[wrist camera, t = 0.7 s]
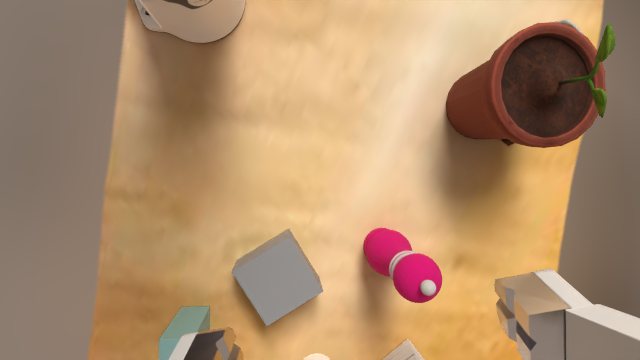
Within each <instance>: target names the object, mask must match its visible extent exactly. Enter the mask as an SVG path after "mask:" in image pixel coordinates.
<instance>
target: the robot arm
mask: <svg viewBox="0 0 640 360" xmlns="http://www.w3.org/2000/svg"><path fill="white" fill-rule="evenodd" d="M134 1H135V3H136V6H137V8H138V11H139V14H140V16H141V19H142V21H143V23H144V25H145V26H146V27H147V28H148V29H150V30H153V31H160V32H168V33H171V34H173V35H175V36H177V37H179V38H181V39H183V40H186V41H190V42H196V43H207V42H212V41H216V40H218V39H221V38H223V37H224V36H226V35H227V34H229V33H230V32H231V31H232V30H233V29H234V28H235V27H236V26H237V24H238V23H239V21H240V19H241V17H242V15H243V12H244V8H245V0H134ZM147 12H148V13H149V14H150V15H147ZM494 285H495V292H496V293H497V295H498V296H499V297H500V299H499V300H498V302H497V303H496V307H497V314H498V317H499V320H500V323H501V325H502V327H503V329H504V331H505V333H506V334H507V336H508V337H509V338H510V339H512V340H514V341H516V342H517V350H518V352H519V353H520V355H521V356H522V358H523V359H524V360H640V319H639V318H637V317H634V316H631V315H628V314H625V313H623V312H620V311H617V310H614V309H611V308H609V307H606V306H603V305H600V304H597V305H593V304H592V303H590V302H589V301H588V300H587V299H586V298H585V297H584V296H582V295H581V294H580V293H579V292H578V291H577V290H575V289H574V288H573V287H572V286H571V285H570V284H568V283H567V282H566V281H565V280H564V279H563V278H562V277H560V276H559V275H558V274H557V273H556V272H555V271H554V270H551V269H545V270H540V271H535V272H531V273H527V274H522V275H516V276H511V277H506V278H500V279H495V284H494ZM235 338H236V336H235V334H234V331H233V329H232V328H230V327H226V328H220V329H213V330H207V331H200V332H195V333H189V334H185V335H183V336H182V337H181V338H180V340H179V342H178V344H177V346H176V347H175V349H174V351H173V353H172V354H171V356H170V358H169V360H244V359H243V354H242V351H241V349H240V347H238V346H237V345H235V344H234V341H235Z"/></svg>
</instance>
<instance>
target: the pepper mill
mask: <svg viewBox="0 0 640 360" xmlns="http://www.w3.org/2000/svg"><path fill="white" fill-rule="evenodd" d="M364 252H365V254H366V256H367V260H368V262H369V264H370V265H371V267H372V268H373V269H374V270H376V271H377V272H378V273H380V274H382V275H385V276H391V278H392V280H393V282H394V286H395V288H396V290H397V291H398V292H399V294H400V295H401V296H402V297H404V298H405V299H407V300H409V301H411V302H415V303H424V302H427V301H429V300H431V299H433V298H434V297H435V296H436V295H437V294H438V292H439V291H440V288H441V285H442V275H441V271H440V269H439V267H438V265H437V264H436V263H435V262H434V261H433V260H432V259H431V258H429V257H428V256H425V255H423V254H419V253H415V252H413V251H412V248H411V245H410V243H409V241H408V240H407V239H406V238H405V237H404V236H403V235H402V234H401V233H399V232H397V231H394V230H389V229H386V228H378V229H375V230H373V231H371V232H370V233H369V234H368V235H367V237H366V238H365V241H364Z"/></svg>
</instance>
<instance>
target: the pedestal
mask: <svg viewBox="0 0 640 360" xmlns="http://www.w3.org/2000/svg"><path fill="white" fill-rule="evenodd" d="M232 273H233V275H234V277H235V278H236V280H237V281H238V283H239V284H240V286H241V287H242V289H243V290H244V292H245V294H246V295H247V297H248V298H249V300H250V301H251V303H252V304H253V306H254V307H255V309H256V310H257V312H258V314H259V315H260V317H261V318H262V320H263V321H264V323H265V324H266V326H268V325H270V324H272V323H273V322H275V321H276V320H278V319H280V318H281V317H283V316H284V315H286V314H288V313H289V312H291V311H292V310H294V309H296V308H297V307H299V306H300V305H302V304H304V303H305V302H307V301H308V300H310V299H312V298H313V297H315V296H316V295H318V294H320V293H321V292H323V289H322V286H321V282H320V279H319V276H318V275H317V273H316V272H315V270H314V268H313V267H312V265H311V263H310V262H309V260H308V259H307V257H306V255H305V254H304V252H303V250H302V249H301V247H300V246H299V244H298V242H297V241H296V239H295V237H294V236H293V234H292V233H291V231H290V229H287V230H286V231H284V232H282V233H281V234H279V235H278V236H276V237H274V238H273V239H271V240H269V241H268V242H266V243H264V244H263V245H261V246H259V247H258V248H256V249H254V250H253V251H251V252H250V253H248V254H246V255H245V256H243V257H241V258H240V259H238V260H237V262H236V264H235V266H234V268H233V270H232Z"/></svg>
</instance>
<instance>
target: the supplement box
mask: <svg viewBox="0 0 640 360" xmlns="http://www.w3.org/2000/svg"><path fill="white" fill-rule="evenodd" d="M382 360H425V359H424V358H423V357H422V356H421V354H420V353H419V352H418V350H417V349H416V348H415V346H414V345H413V344H412V343H411V341H410V340H409V339H407V340H406V341H404V342H403V343H402V344H401V345H399V346H398V347H397V348H396V349H394V350H393V351H392V352H391V353H389V354H388V355H387V356H386V357H384V358H383V359H382Z"/></svg>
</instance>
